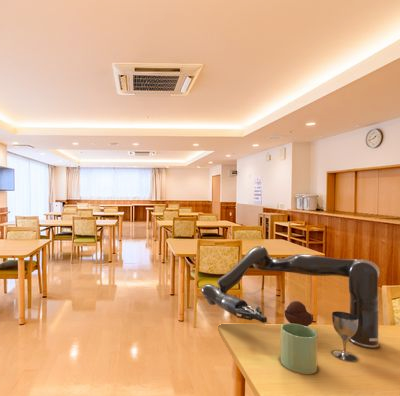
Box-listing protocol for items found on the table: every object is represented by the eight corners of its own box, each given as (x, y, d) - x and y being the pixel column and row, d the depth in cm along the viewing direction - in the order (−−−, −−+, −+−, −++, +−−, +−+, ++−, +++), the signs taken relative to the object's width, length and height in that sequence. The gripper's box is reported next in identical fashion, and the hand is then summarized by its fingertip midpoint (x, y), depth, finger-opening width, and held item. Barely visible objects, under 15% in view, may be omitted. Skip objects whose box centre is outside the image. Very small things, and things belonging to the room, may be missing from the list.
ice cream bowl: (318, 343, 116) (318, 306, 116) (288, 340, 118) (288, 304, 118) (308, 331, 126) (308, 297, 126) (280, 329, 128) (280, 295, 128)
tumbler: (278, 353, 108) (278, 321, 108) (312, 358, 105) (312, 325, 105) (283, 370, 98) (283, 335, 98) (321, 376, 94) (321, 340, 94)
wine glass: (335, 359, 105) (335, 318, 105) (329, 348, 112) (329, 310, 112) (361, 363, 102) (362, 321, 102) (353, 352, 109) (353, 313, 109)
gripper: (245, 311, 132) (277, 326, 116) (222, 316, 126) (252, 332, 110) (245, 295, 132) (277, 308, 116) (222, 299, 126) (252, 313, 110)
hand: (265, 320), depth 113 cm, fingers closed
